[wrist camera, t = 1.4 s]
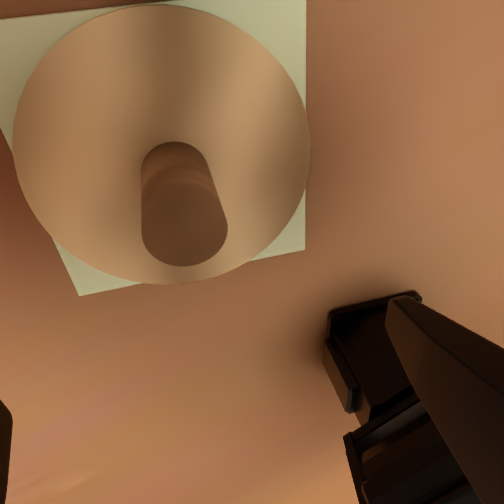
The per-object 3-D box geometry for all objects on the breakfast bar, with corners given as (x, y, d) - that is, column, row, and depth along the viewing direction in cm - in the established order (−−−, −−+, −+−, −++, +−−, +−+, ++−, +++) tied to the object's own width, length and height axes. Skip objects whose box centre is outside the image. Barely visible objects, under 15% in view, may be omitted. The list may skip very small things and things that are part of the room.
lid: (306, -14, 14) (376, -5, 10) (305, 249, 22) (345, 319, 17) (-48, 25, 13) (-141, 55, 8) (79, 296, 20) (63, 385, 16)
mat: (300, -15, 15) (306, -14, 14) (301, 243, 22) (305, 249, 22) (-41, 23, 13) (-48, 25, 13) (80, 288, 20) (79, 296, 20)
